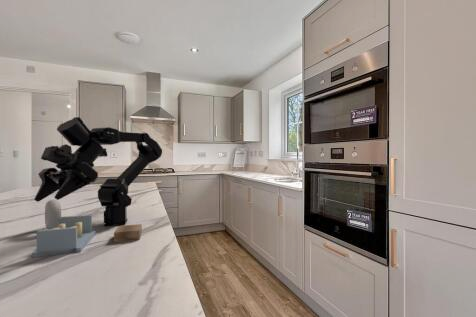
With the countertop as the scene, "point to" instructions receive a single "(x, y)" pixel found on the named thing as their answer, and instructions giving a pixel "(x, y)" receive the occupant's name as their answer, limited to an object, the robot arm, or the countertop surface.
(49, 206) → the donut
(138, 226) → the walnut block
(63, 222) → the peg stand
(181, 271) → the countertop surface
